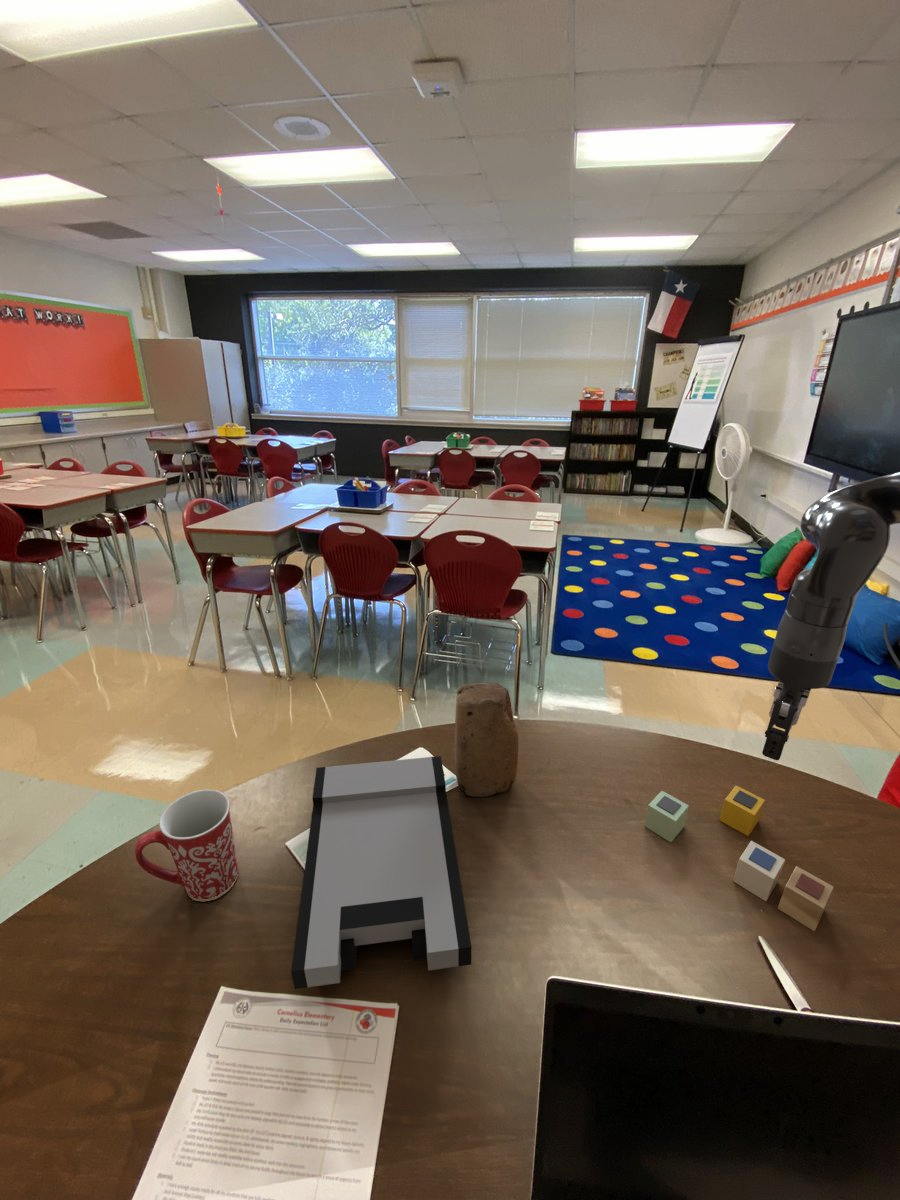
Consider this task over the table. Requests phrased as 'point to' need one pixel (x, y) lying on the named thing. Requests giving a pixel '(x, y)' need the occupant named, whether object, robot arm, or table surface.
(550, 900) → the table surface
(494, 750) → the block
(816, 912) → the block
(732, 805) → the yellow block
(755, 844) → the block
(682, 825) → the block
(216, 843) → the mug
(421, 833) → the grey notched sloped slab
